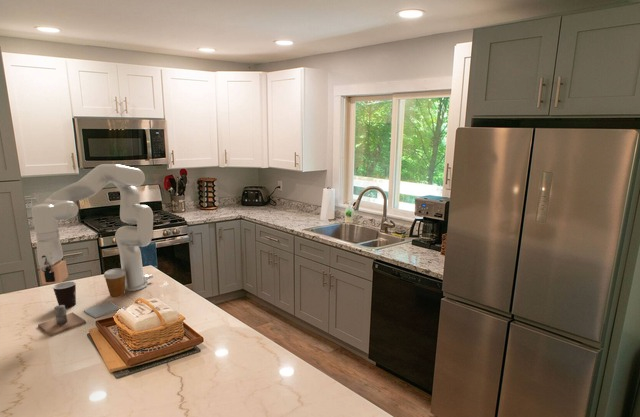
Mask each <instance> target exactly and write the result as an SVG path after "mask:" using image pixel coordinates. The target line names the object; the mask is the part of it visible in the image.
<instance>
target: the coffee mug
mask: <svg viewBox="0 0 640 417" xmlns="http://www.w3.org/2000/svg"><path fill="white" fill-rule="evenodd" d="M76 285H77V284H76V282H75V281H71V280H70V281H64V282H63V281H62V282H61V283H55V284H54V285H53V286H52V289H53V292H54V295H55V298H56V301H57V304H58V305H57V306H59V305H65V310H67V309H70V308H72V307H75V306H76V303H77V298H76V297H77V295H76V294H77V290H76V289H77V288H76Z"/></svg>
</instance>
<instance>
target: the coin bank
mask: <svg viewBox="0 0 640 417" xmlns="http://www.w3.org/2000/svg"><path fill="white" fill-rule="evenodd" d="M46 265H49V263H46ZM46 268H50V266H47V267H46ZM52 268H53V269H52V272H54V277H55V281H54V282H46V281H45V275H44V273H43V271H42V270H41V269H40V266H39V267H38V269H39V274H40V279H41V284H42V285H47V284H49V285H50V284H59V283H62V282H63V281H65V280H66V279H67V278H69V272H68V266H67V261H66V260H63V261H58V262H57V263H55V264H54V265H53V266H52Z"/></svg>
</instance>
